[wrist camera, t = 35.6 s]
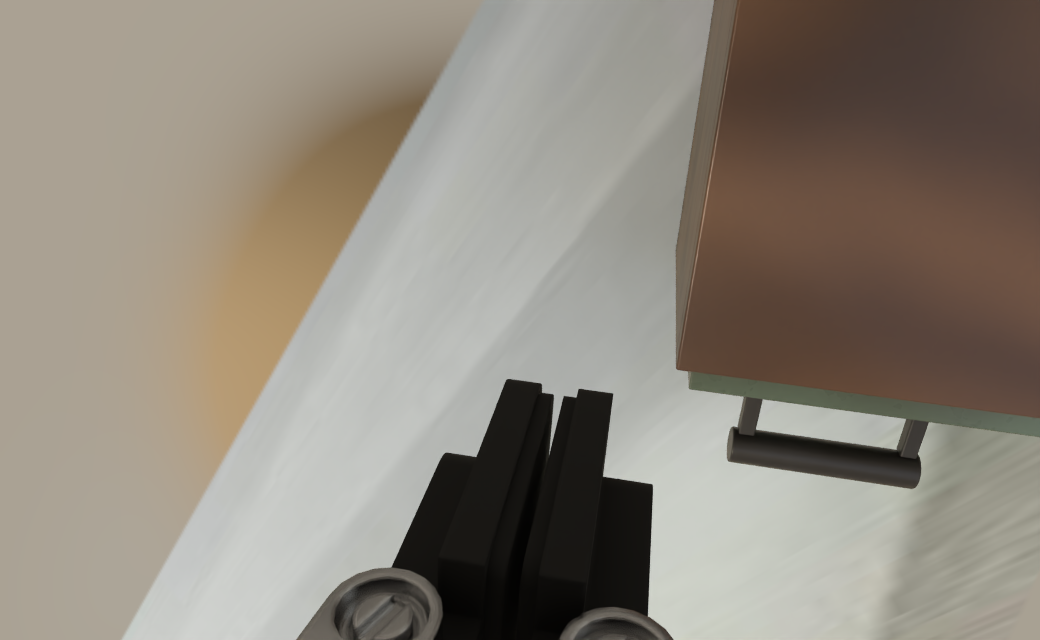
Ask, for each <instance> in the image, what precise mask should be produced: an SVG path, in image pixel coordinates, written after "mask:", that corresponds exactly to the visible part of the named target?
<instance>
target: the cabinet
mask: <svg viewBox="0 0 1040 640" xmlns="http://www.w3.org/2000/svg"><path fill="white" fill-rule="evenodd" d="M676 369H677V370H682V371H690V372H697V373H705V374H712V375H720V376H727V377H735V378H742V379H750V380H757V381H765V382H772V383H780V384H787V385H794V386H802V387H809V388H817V389H824V390H832V391H839V392H847V393H854V394H862V395H869V396H877V397H884V398H892V399H899V400H906V401H914V402H921V403H929V404H936V405H944V406H951V407H959V408H966V409H974V410H981V411H989V412H996V413H1004V414H1011V415H1018V416H1026V417H1033V418H1040V0H714V6H713V13H712V19H711V26H710V32H709V39H708V45H707V52H706V58H705V65H704V71H703V77H702V84H701V90H700V97H699V103H698V110H697V116H696V123H695V129H694V136H693V142H692V149H691V155H690V162H689V168H688V175H687V181H686V188H685V194H684V201H683V207H682V214H681V220H680V227H679V233H678V240H677V246H676Z"/></svg>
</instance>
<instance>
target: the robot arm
mask: <svg viewBox="0 0 1040 640" xmlns="http://www.w3.org/2000/svg"><path fill="white" fill-rule="evenodd" d="M612 399H613V394H612V393H605V392H598V391H591V390H584V389H579V390H578V394H577V398H575V397H568V396H564V398H563V402H562V406H561V410H560V414H559V418H558V422H557V426H556V430H555V434H554V438H553V442H552V447H551V451H550V455H549V449H550V437H551V425H552V414H553V401H554V395H553V394H546V393H542V384H541V383H534V382H526V381H519V380H512V379H507V380H506V382H505V385H504V387H503V390H502V392H501V395H500V398H499V400H498V403H497V405H496V408H495V411H494V413H493V416H492V418H491V421H490V424H489V426H488V429H487V431H486V434H485V437H484V439H483V442H482V444H481V447H480V450H479V452H478V455H477V457H472V456H465V455H459V454H452V453H445V454H444V455H443V456H442V458H441V460H440V462H439V464H438V466H437V468H436V470H435V473H434V475H433V477H432V479H431V481H430V484H429V486H428V488H427V490H426V492H425V495H424V497H423V499H422V501H421V503H420V506H419V508H418V510H417V512H416V515H415V517H414V519H413V521H412V523H411V526H410V528H409V530H408V532H407V534H406V537H405V539H404V541H403V543H402V545H401V548H400V550H399V552H398V554H397V556H396V559H395V561H394V563H393V565H392V567H391V568H378V569H372V570H369V571H365V572H362V573H359V574H356V575H354V576H353V577H351V578H349V579H347V580H346V581H344V582H342V583H341V584H340V585H339V586H338V587H337V588H336V589H335V590H334V591H333V592H332V593H331V594H330V595H329V596H328V598H327V599H326V600H325V602H324V603H323V604H322V606H321V607H320V608H319V610H318V611H317V612H316V614H315V615H314V617H313V618H312V619H311V621H310V622H309V623H308V625H307V626H306V627H305V629H304V630H303V631H302V633H301V634H300V635H299V637H298V638H297V639H296V640H673V638H672V637H671V636H670V634H669V633H668V632H667V631H666V629H664V628H663V627H662V626H661V625H659V624H658V623H657V622H655V621H654V620H653V619H651V618H650V617H648V597H649V573H650V548H651V524H652V500H653V485H652V484H646V483H640V482H634V481H627V480H621V479H614V478H608V477H603V471H604V463H605V455H606V447H607V439H608V431H609V423H610V415H611V407H612Z"/></svg>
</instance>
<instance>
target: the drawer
mask: <svg viewBox="0 0 1040 640" xmlns="http://www.w3.org/2000/svg"><path fill="white" fill-rule="evenodd" d="M688 380H689V389H692V390H700V391H707V392H714V393H721V394H729V395H736V396H743V397H744V399H743V404H742V408H741V413H740V418H739V422H738V427H731V429H730V432H729V436H728V443H727V459H728V461H729V462H734V463H741V464H748V465H755V466H761V467H768V468H775V469H781V470H788V471H795V472H802V473H808V474H815V475H822V476H829V477H835V478H842V479H849V480H855V481H862V482H869V483H876V484H882V485H889V486H896V487H903V488H909V489H914V488H915V487H916V486H917V485H918V483H919V480H920V476H921V461H920V457H919V455H918V452H919V449H920V446H921V443H922V440H923V437H924V434H925V432H926V429H927V426H928V423H929V422H933V423H940V424H948V425H955V426H962V427H970V428H977V429H984V430H991V431H999V432H1006V433H1013V434H1021V435H1028V436H1035V437H1040V418H1033V417H1026V416H1018V415H1011V414H1004V413H996V412H989V411H981V410H974V409H966V408H959V407H951V406H944V405H936V404H929V403H921V402H914V401H906V400H899V399H892V398H884V397H877V396H869V395H862V394H854V393H847V392H839V391H832V390H824V389H817V388H809V387H802V386H794V385H787V384H780V383H772V382H765V381H757V380H750V379H742V378H735V377H727V376H720V375H712V374H705V373H697V372H690V371H688ZM763 399H765V400H772V401H780V402H787V403H794V404H802V405H809V406H816V407H824V408H831V409H838V410H845V411H853V412H860V413H867V414H875V415H882V416H889V417H897V418H904V419H906V422H905V425H904V428H903V431H902V434H901V437H900V440H899V443H898V446H897V450H894V449H887V448H880V447H873V446H866V445H859V444H852V443H845V442H838V441H831V440H824V439H817V438H810V437H803V436H796V435H789V434H782V433H775V432H768V431H761V430H756V426H757V421H758V417H759V413H760V408H761V404H762V400H763Z"/></svg>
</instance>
